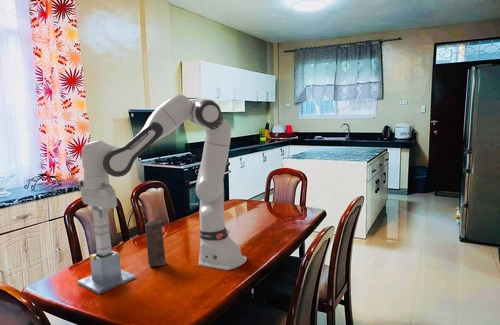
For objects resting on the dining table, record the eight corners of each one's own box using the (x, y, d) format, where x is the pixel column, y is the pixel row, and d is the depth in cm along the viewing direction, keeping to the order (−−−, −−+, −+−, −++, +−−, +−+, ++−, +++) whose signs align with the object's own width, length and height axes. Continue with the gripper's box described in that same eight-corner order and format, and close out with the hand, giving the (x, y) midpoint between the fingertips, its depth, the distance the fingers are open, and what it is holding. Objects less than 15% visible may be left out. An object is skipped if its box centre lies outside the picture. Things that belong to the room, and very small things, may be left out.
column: (113, 261, 141) (107, 208, 139) (103, 265, 138) (97, 211, 135) (107, 259, 144) (102, 207, 141) (97, 262, 141) (91, 209, 138)
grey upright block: (156, 269, 150) (152, 224, 148) (144, 266, 154) (140, 222, 152) (169, 263, 157) (165, 219, 154) (157, 260, 161) (154, 218, 158)
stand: (135, 277, 143) (133, 248, 142) (99, 294, 131) (95, 262, 129) (114, 269, 153) (111, 241, 152) (77, 283, 141) (74, 254, 139)
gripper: (119, 183, 133) (122, 218, 135) (91, 179, 145) (95, 211, 147) (103, 186, 128) (107, 222, 130) (76, 182, 141) (80, 215, 142)
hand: (100, 216), depth 139 cm, fingers closed on column, 4 cm apart
